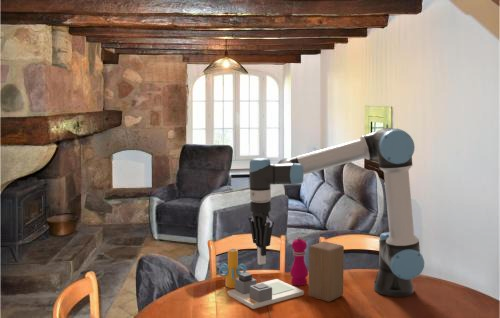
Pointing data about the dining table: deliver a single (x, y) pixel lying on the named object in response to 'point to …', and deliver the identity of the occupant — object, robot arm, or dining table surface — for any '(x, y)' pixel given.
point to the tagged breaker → (260, 286)
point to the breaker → (245, 276)
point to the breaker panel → (263, 292)
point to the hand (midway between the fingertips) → (261, 263)
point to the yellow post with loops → (232, 268)
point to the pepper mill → (299, 262)
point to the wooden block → (326, 271)
